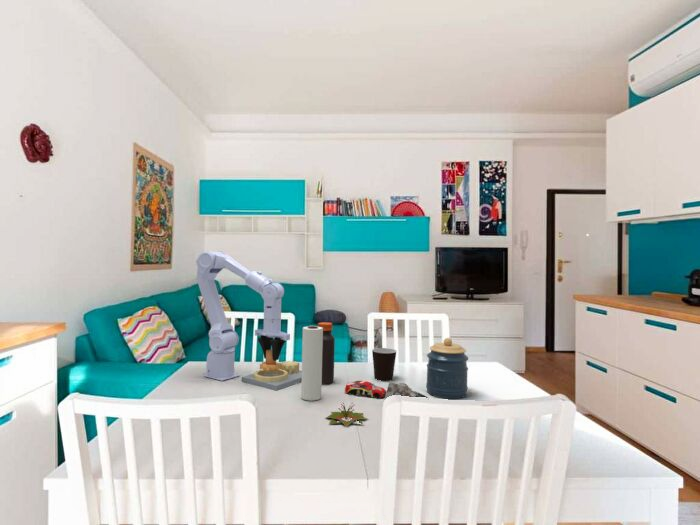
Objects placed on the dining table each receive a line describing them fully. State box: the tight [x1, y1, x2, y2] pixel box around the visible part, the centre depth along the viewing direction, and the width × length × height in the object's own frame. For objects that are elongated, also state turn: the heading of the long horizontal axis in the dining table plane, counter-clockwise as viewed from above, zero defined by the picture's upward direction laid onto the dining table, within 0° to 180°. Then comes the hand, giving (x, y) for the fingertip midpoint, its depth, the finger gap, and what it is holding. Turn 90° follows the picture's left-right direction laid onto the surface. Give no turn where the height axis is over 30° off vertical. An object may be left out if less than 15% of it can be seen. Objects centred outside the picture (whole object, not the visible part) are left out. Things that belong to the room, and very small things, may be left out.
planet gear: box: [259, 348, 282, 371], centre depth 143 cm, size 7×7×6 cm
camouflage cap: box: [384, 380, 429, 400], centre depth 123 cm, size 7×11×10 cm
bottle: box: [317, 321, 336, 386], centre depth 145 cm, size 7×7×20 cm
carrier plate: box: [241, 360, 302, 391], centre depth 147 cm, size 16×19×4 cm
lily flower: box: [324, 402, 368, 428], centre depth 112 cm, size 12×12×5 cm
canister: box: [425, 337, 469, 400], centre depth 136 cm, size 13×13×18 cm
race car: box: [344, 380, 387, 399], centre depth 133 cm, size 13×5×4 cm, turn 69°
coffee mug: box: [371, 347, 397, 382], centre depth 152 cm, size 12×9×10 cm
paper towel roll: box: [300, 324, 323, 402], centre depth 129 cm, size 7×6×21 cm
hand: (271, 359), depth 144 cm, fingers closed on planet gear, 3 cm apart
